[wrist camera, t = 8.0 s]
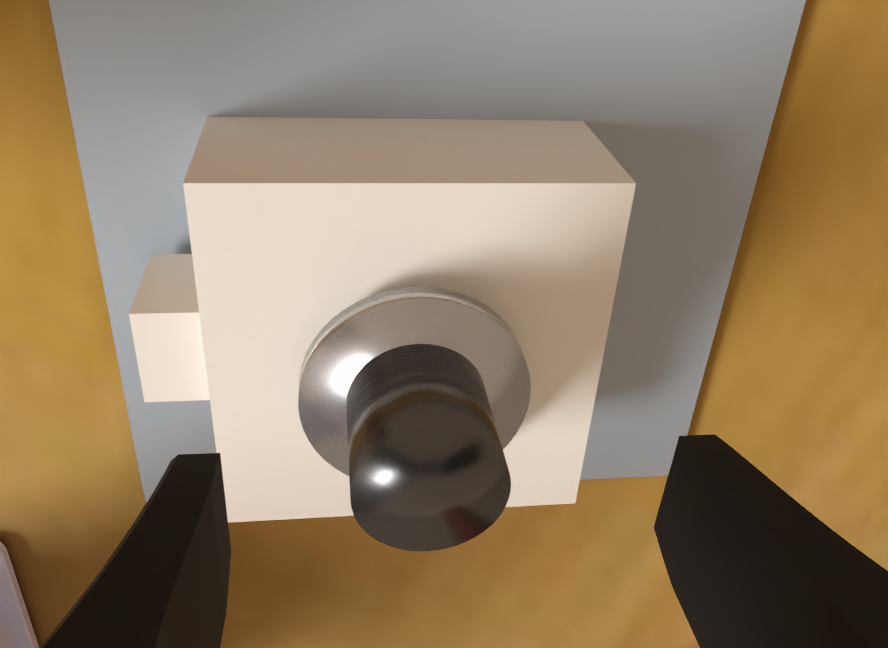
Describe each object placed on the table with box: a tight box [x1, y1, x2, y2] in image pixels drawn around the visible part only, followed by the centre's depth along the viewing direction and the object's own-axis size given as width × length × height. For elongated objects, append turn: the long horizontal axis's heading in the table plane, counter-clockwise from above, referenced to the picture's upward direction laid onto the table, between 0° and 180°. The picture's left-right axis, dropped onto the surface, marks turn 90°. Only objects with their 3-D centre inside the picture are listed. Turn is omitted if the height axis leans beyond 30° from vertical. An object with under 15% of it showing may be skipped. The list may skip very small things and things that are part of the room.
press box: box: [129, 116, 636, 523], centre depth 20 cm, size 9×11×4 cm
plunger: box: [298, 287, 531, 551], centre depth 18 cm, size 5×5×8 cm
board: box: [49, 0, 806, 502], centre depth 22 cm, size 17×17×1 cm
